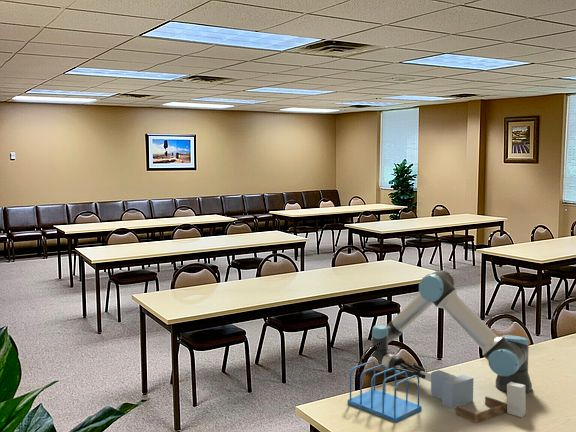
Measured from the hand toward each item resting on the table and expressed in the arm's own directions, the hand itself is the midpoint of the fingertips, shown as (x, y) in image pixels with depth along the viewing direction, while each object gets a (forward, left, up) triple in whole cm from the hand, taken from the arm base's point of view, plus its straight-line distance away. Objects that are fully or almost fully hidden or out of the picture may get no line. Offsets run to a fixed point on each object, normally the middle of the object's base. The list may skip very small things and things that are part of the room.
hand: (432, 378), depth 253 cm
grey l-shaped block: (0, +9, -6) cm, 11 cm away
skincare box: (-10, +34, -7) cm, 37 cm away
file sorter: (+28, -1, -7) cm, 28 cm away
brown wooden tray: (0, +25, -6) cm, 26 cm away
